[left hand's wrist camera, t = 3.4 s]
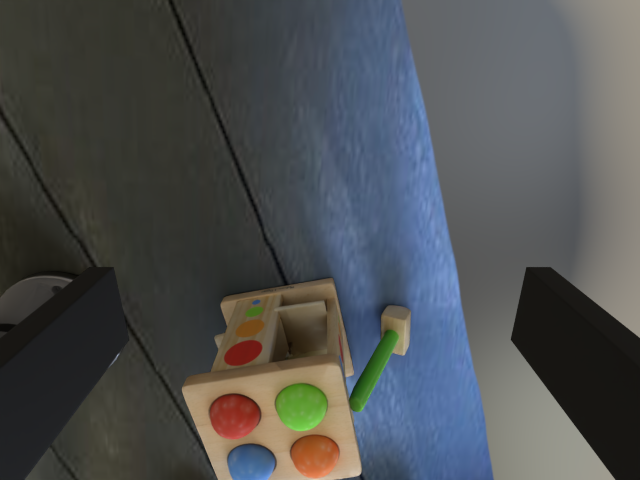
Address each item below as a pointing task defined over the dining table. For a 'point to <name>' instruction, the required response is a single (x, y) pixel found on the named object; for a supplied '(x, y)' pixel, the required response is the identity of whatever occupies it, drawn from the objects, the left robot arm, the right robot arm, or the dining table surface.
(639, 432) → the left robot arm
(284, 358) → the pounding bench toy
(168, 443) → the dining table surface
